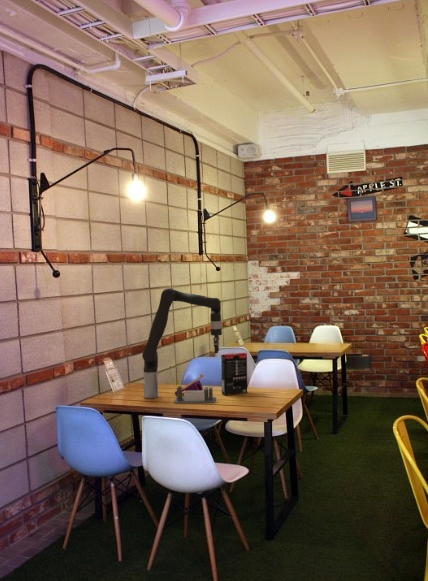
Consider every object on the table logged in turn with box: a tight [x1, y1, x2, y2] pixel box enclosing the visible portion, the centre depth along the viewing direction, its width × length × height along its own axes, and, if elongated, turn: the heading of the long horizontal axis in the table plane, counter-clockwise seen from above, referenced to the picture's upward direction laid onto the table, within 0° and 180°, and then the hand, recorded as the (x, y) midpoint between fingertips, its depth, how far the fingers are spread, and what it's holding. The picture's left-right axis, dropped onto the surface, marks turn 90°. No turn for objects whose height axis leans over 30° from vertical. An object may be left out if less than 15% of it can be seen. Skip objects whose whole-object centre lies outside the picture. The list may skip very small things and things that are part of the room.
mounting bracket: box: [174, 379, 204, 396], centre depth 390 cm, size 9×8×18 cm
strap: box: [181, 373, 204, 391], centre depth 370 cm, size 19×3×2 cm
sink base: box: [173, 385, 217, 404], centre depth 370 cm, size 26×13×9 cm, turn 86°
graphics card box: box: [220, 352, 248, 396], centre depth 388 cm, size 17×7×27 cm, turn 115°
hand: (216, 352), depth 382 cm, fingers open, 8 cm apart
